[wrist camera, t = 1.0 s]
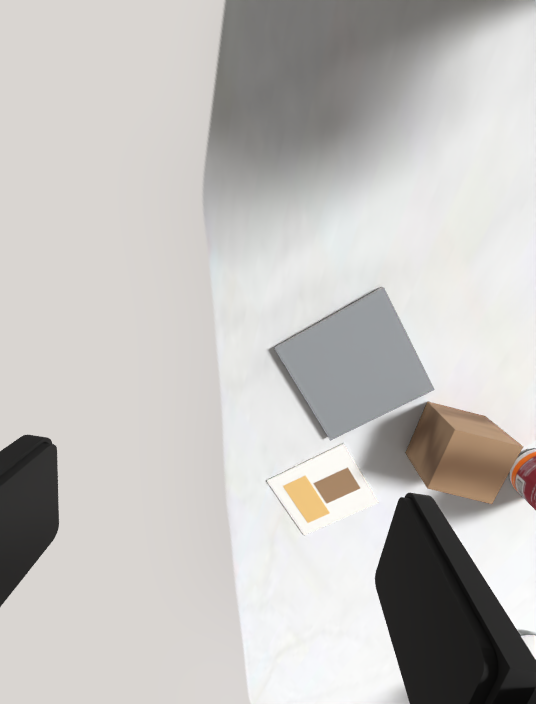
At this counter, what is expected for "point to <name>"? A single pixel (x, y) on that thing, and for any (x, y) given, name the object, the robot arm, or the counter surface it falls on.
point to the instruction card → (323, 490)
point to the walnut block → (461, 453)
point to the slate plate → (355, 364)
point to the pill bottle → (525, 476)
